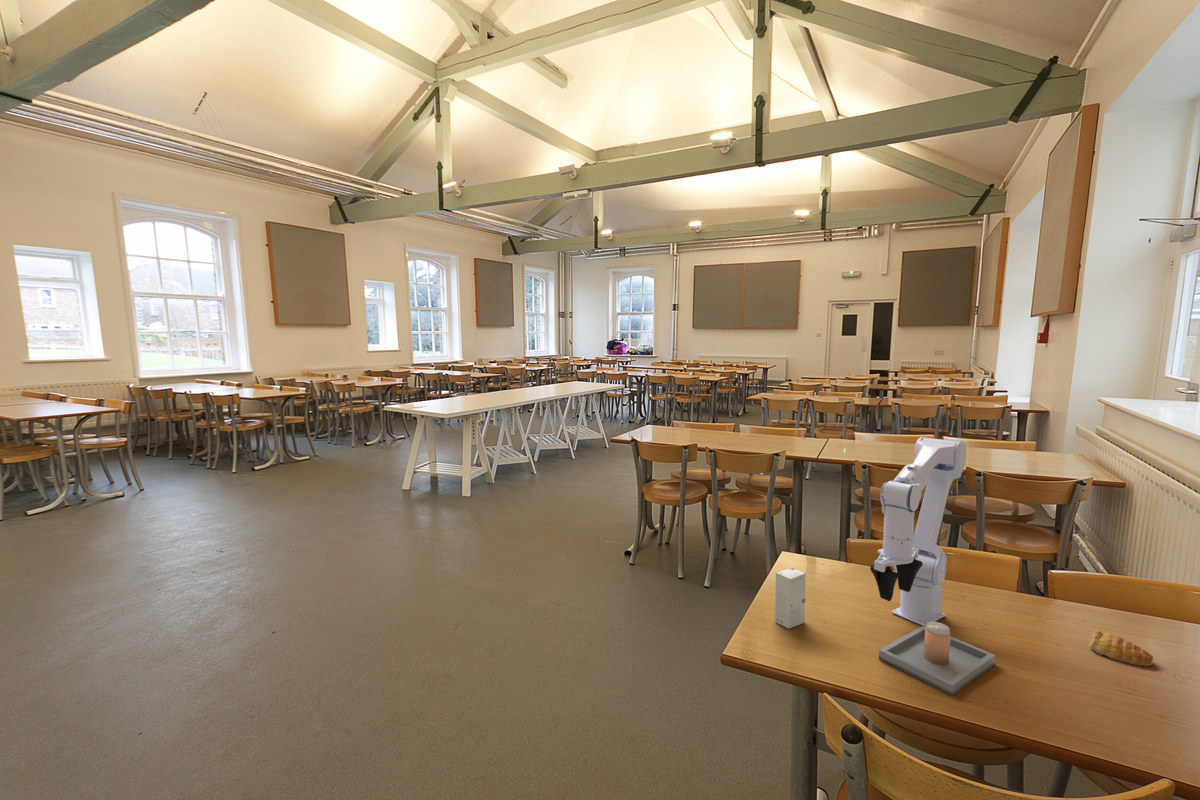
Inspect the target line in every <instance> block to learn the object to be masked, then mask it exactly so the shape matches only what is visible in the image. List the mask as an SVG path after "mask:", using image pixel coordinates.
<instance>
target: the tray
mask: <svg viewBox="0 0 1200 800" xmlns="http://www.w3.org/2000/svg"><path fill="white" fill-rule="evenodd" d="M925 627H926V626H925V625H923V626H922V625H921V626H920V627H918V628H916V629H915V630H914V629H913V631H911V632H909V633H907V634H906V635H903V636H901V637H900V638H898V639H896V640H894V641H893V642H891V643H889V644H887V645H885V646H883V647H882V648H880V649H879V650H878V660H880V661H882V662H884V663H886V664H888V665H890V666H892V667H894V668H895V669H898V670H900V671H902V672H904V673H906V674H908V675H909V676H912V677H914V678H916V679H918V680H920V681H921V682H924V683H926V684H927V685H930V686H932V687H934V688H936V689H937V690H940V691H942V692H944V693H945V694H947V693H948V695H949V694H950V696H951V695H952V696H953V695H955V694H956V693H958V692H959V691H961V690H962V689H963V688H964V687H966V686H967V685H968V684H970V683H971V682H973V681H974V680H975V679H977V678H978V677H980V676H981V675H982V674H984V673H985V672H986V671H988V670H989V669H991V668H992V667H994V665H996V654H994V653H993V652H992V653H991V652H989V651H986V650H984V649H982V648H979V647H977V646H974V645H972V644H970V643H968V642H965V641H963V640H960V639H958V638H955V637H953V636H950V650H949V663H948V664H946V665H938V664H934V663H932V662H930V661H928V660H926V659H925V658H924V641H925Z"/></svg>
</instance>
